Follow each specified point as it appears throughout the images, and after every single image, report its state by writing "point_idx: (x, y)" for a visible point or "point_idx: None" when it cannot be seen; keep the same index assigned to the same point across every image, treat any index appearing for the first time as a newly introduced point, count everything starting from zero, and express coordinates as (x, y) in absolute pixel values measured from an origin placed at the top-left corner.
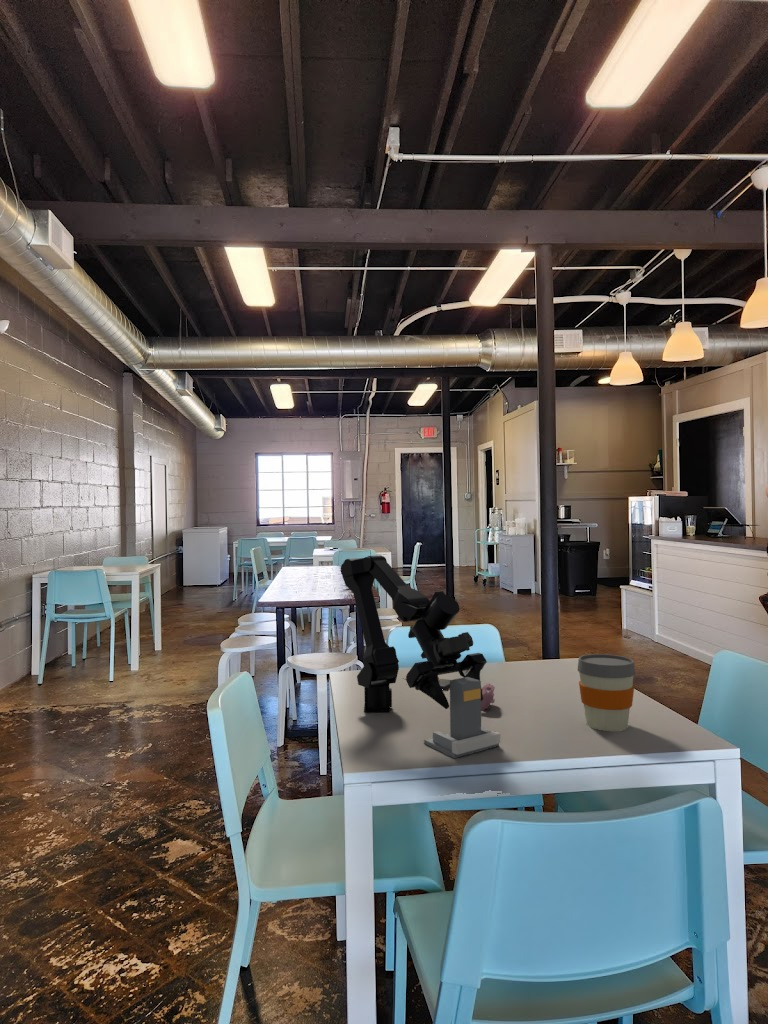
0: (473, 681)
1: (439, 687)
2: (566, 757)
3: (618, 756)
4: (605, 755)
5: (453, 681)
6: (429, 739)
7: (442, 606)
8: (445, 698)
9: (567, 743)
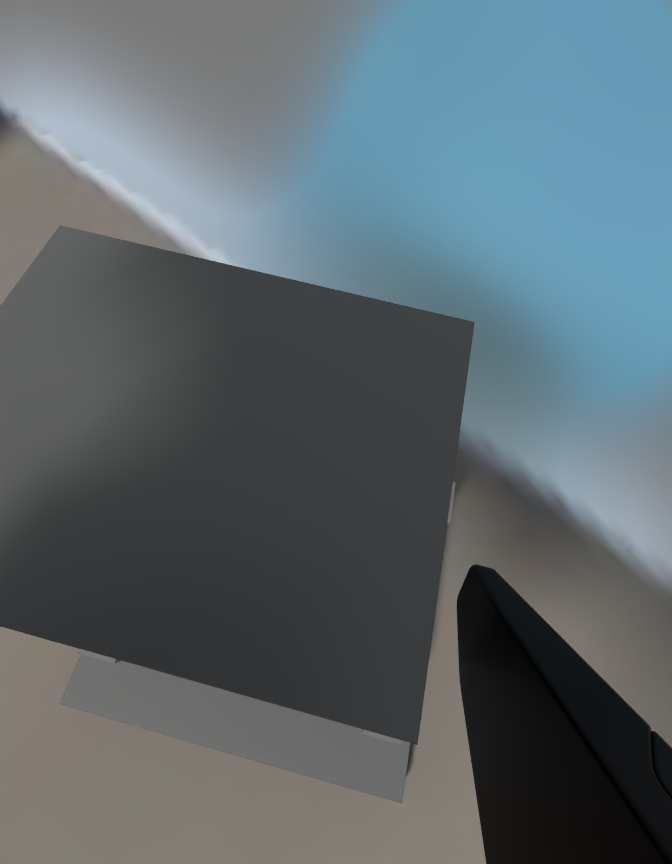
0: (175, 282)
1: (656, 797)
2: (154, 231)
3: (58, 143)
4: (69, 166)
5: (435, 581)
6: (376, 773)
7: None
8: (521, 617)
9: (3, 272)
